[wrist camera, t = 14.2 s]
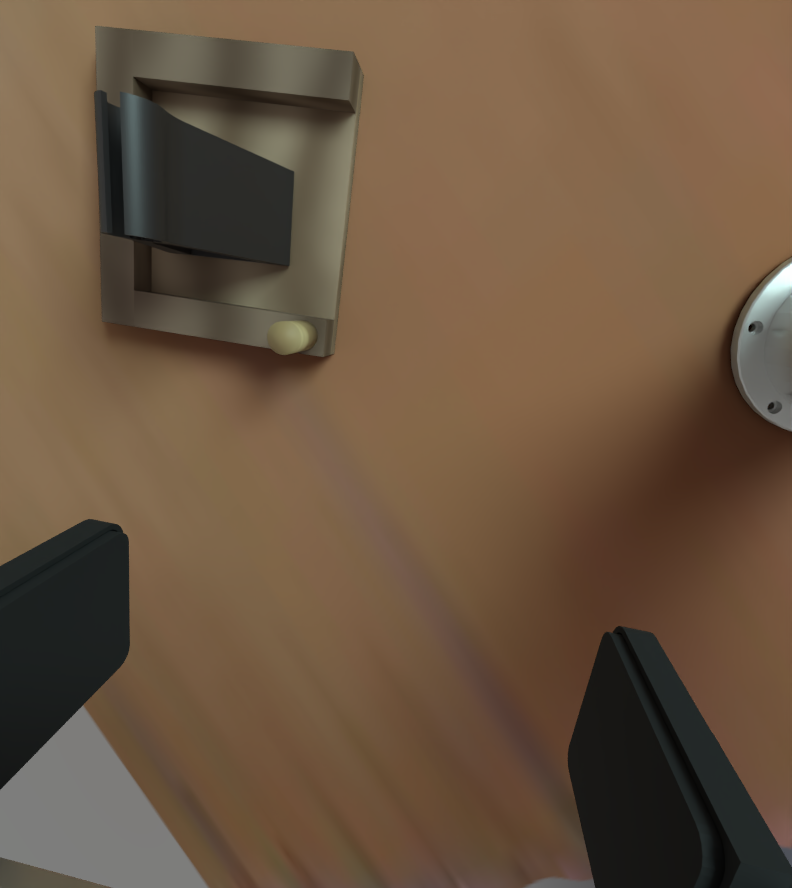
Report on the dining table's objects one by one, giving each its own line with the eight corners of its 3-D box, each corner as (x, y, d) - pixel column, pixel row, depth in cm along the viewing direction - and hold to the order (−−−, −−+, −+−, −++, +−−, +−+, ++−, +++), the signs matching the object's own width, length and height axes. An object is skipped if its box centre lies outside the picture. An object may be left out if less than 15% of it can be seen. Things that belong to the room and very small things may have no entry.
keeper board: (363, 75, 32) (336, 11, 25) (334, 353, 37) (304, 362, 30) (106, 48, 33) (16, -18, 27) (111, 317, 38) (36, 318, 32)
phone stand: (171, 252, 35) (30, 223, 24) (170, 160, 34) (19, 81, 22) (290, 267, 35) (204, 244, 23) (296, 173, 33) (206, 98, 21)
